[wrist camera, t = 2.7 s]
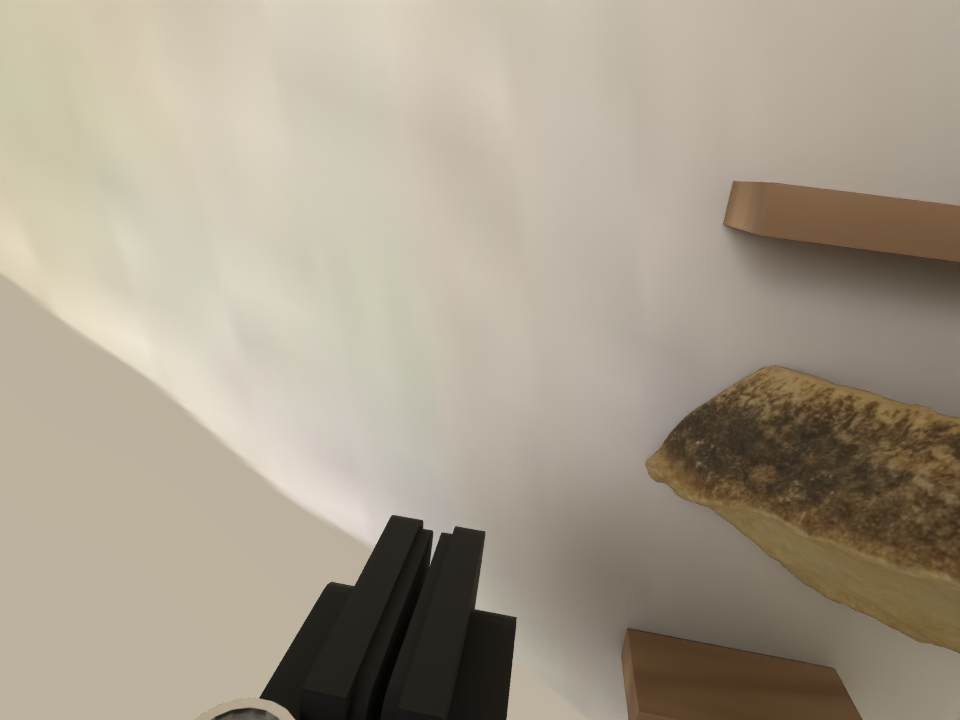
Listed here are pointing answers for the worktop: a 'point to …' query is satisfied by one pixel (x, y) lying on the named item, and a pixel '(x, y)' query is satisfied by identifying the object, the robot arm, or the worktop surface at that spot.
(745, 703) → the box
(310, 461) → the worktop surface
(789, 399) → the rock
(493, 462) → the worktop surface
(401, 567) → the robot arm
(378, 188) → the worktop surface
